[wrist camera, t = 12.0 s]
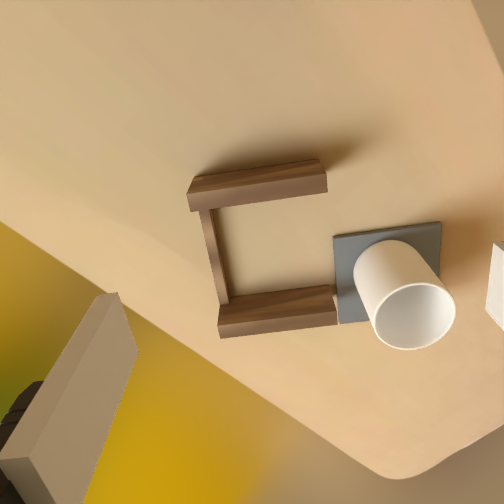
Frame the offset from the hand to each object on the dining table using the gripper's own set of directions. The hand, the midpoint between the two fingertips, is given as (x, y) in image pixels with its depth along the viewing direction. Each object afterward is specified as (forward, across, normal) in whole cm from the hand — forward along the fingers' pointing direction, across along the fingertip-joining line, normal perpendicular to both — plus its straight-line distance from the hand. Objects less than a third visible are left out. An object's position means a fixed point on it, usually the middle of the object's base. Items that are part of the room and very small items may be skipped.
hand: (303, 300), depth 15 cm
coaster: (+35, +12, -21) cm, 42 cm away
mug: (+34, +13, -21) cm, 42 cm away
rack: (+35, -2, -14) cm, 37 cm away
